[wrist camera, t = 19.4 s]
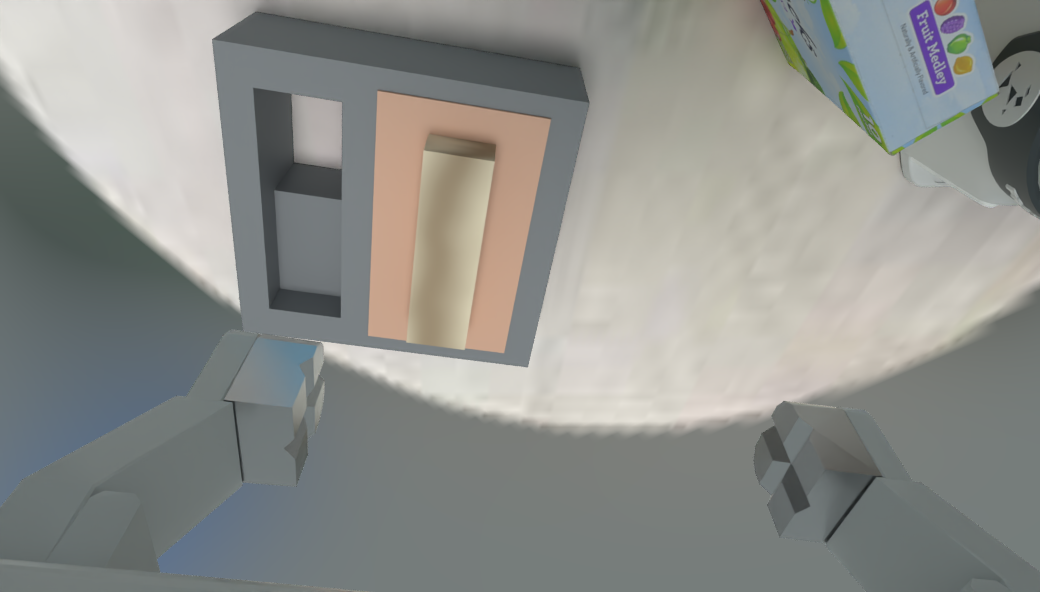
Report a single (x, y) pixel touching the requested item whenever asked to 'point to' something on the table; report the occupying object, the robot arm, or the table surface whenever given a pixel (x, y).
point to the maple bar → (448, 239)
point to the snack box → (889, 61)
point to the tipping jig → (388, 180)
